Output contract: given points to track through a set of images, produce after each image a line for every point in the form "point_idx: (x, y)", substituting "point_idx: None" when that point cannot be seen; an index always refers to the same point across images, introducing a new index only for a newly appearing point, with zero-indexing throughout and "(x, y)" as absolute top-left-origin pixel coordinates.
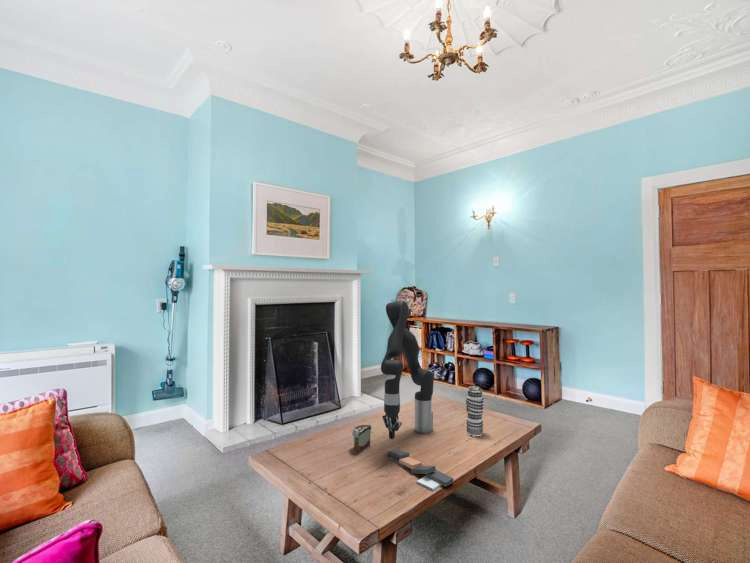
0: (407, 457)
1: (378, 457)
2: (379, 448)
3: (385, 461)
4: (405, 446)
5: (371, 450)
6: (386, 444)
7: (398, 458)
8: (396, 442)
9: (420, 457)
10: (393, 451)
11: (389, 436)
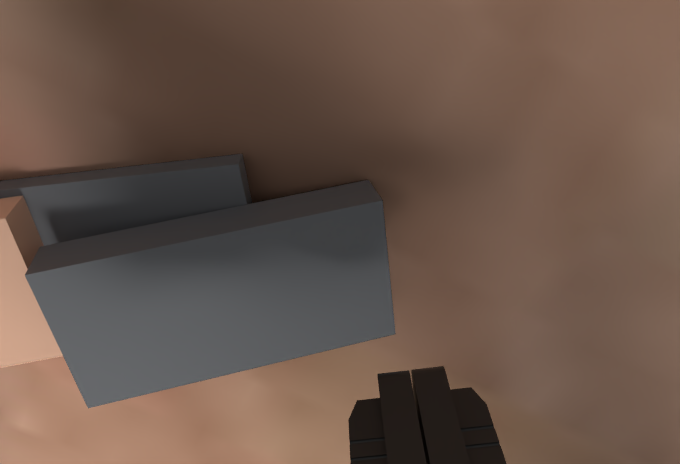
0: (34, 340)
1: (364, 7)
2: (618, 162)
3: (193, 50)
4: None
5: (647, 12)
6: (652, 296)
7: None
8: (612, 409)
9: (156, 453)
10: (303, 264)
11: (433, 397)
